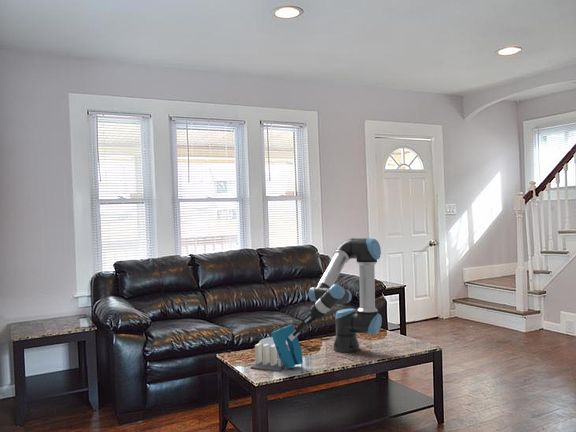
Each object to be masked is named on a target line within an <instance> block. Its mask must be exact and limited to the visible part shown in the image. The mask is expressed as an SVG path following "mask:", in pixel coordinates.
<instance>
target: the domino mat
mask: <svg viewBox="0 0 576 432" xmlns="http://www.w3.org/2000/svg"><path fill="white" fill-rule="evenodd" d="M249 368H250V370H251V369H252V370H262V371H270V372H281V371H282V372H283V370H285V369H286V368H285V366H284V365H283V366H278V359H277V364H275V365H274V366H271V359H270V363H268V364H267V365H263V358H262V362H261V363H259V364H255V363H254V364H253V365H251V366H250V367H249Z"/></svg>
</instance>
